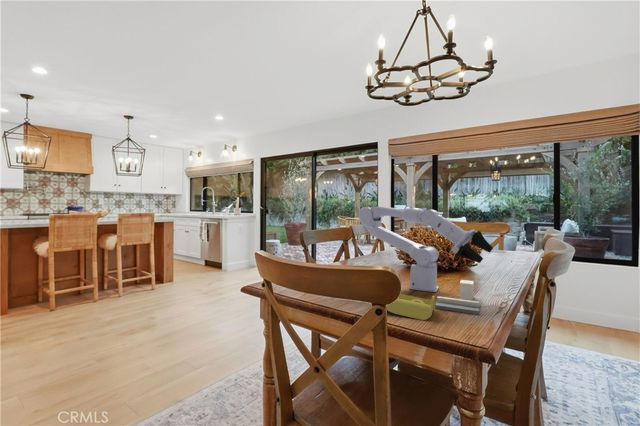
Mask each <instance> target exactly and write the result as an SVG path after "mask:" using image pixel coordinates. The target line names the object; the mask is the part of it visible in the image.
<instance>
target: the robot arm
mask: <svg viewBox="0 0 640 426" xmlns="http://www.w3.org/2000/svg"><path fill="white" fill-rule="evenodd" d="M386 216H387V217H394V218H396V217H397V218H402V220H403V221H404V222H406V223H414V224H420V225H421V224H423V225H424V226H426V227H430V228H432V229H433V230H435V231H436V232H437V233H439V234H440V235H442V236H443V237H444V238H446V239H447V240H448V241H450V242H451V243H452V244H454V246H452V247H451V249H450V251H451V252H452V253H454V254H456V256H457V257H459V258H465V259H468V260H471V261H474V262H475V263H479V264H480V263H481V262H482V261H483V260H484V258H483V256H482V255H481V254H479V253H478V252H477V251H475V250H474V249H473V248H472V247H471V246H470V245H472V246H476V247H478V248H480V249H482V250H483V251H485V252H488V253H491V252H492V250H493V249H494V247H493V246H492V245H491V244H490V243H489V242H488V241H487V239H486V238H485V237H484V236H483V233H482V232H481V231H480V230H476V229H474V228H472V229H471V230H467V231H466V230H464V229H463V228H461V227H460V226H458V225H457V224H455V223H453V222H452V221H451V220H449V219H447V218H446V217H444V216H442V215H441V214H440V213H439V212H438V210H435V209H427V208H426V207H422V208H418V207H415V206H414V205H409V206H406V207H405V208H404V209H403V208H402V209H401V208H395V207H389V206H363V207H361V208H359V211H358V219H359V222H360V223H361V225H363V226H364V228H365V229H366V230H367V231H368V233H369V234H370V235H371V236H372V237H375V238H376V239H378V240H380V241H382V242H384V243H386V244H388V245H390V246H392V247H394V248H396V249H398V250H400V251H402V252H404V253H406V254H408V255H409V257H410V258H411V259H413V260H414V261H415V263H416V264H414V263H413V264H411V266H410V272H409V275H410V276H409V289H410V290H415V291H423V292H432V293H437V291H438V290H439V288H440V286H439V285H438V282H437V281H438V279H437V277H438V275H437V274H438V265H437V264H438V263H437V261H438V259H439V256H440V253H439V251H438V249H437V248H436V247H434V246H427V245H424V244H421V243H417V242H414V241H412V240H410V239H409V238H406V237H404V236H402V235H400V234H399V233H395V232H394V231H391V230H389V229H388V228H386V227H383V224H382V218H384V217H386ZM469 242H470V245H469V244H468V243H469Z"/></svg>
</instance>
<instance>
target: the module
mask: <svg viewBox="0 0 640 426" xmlns="http://www.w3.org/2000/svg"><path fill="white" fill-rule="evenodd" d="M474 284H475V283H474V280H466V279H460V282H459V299H463V300H470V301H474Z"/></svg>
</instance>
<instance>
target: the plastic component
mask: <svg viewBox="0 0 640 426" xmlns="http://www.w3.org/2000/svg"><path fill="white" fill-rule="evenodd" d="M399 294H400V296H399V298H398V299H397V300H396V301H395V302H394V303H392V304H390V305H388V306H387V310H386V311H388V312H389V313H392V314H395V315H397V316H402V317H407V318H412V319H416V320H422V321H426V320H429V319H430V318H431V316H432V315H433V311H434V310H435V309H436V308H435V304H436V296H435V295H432V296H431V299H429V298H423V297H422V298H421V297H419V296H414V295H410V294H409V295H408V294H402V293H399Z"/></svg>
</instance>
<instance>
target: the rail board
mask: <svg viewBox="0 0 640 426" xmlns="http://www.w3.org/2000/svg"><path fill="white" fill-rule="evenodd" d="M434 309H439V310H444V311H452V312H458V313H464V314H471V315H478V316H479V315H480V301H479V300H478V301H476V300H473V301H470V300H463V299H460V298H454V297H453V298H452V297H447V296H440V295H438V296H436V301H435V308H434Z"/></svg>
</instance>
